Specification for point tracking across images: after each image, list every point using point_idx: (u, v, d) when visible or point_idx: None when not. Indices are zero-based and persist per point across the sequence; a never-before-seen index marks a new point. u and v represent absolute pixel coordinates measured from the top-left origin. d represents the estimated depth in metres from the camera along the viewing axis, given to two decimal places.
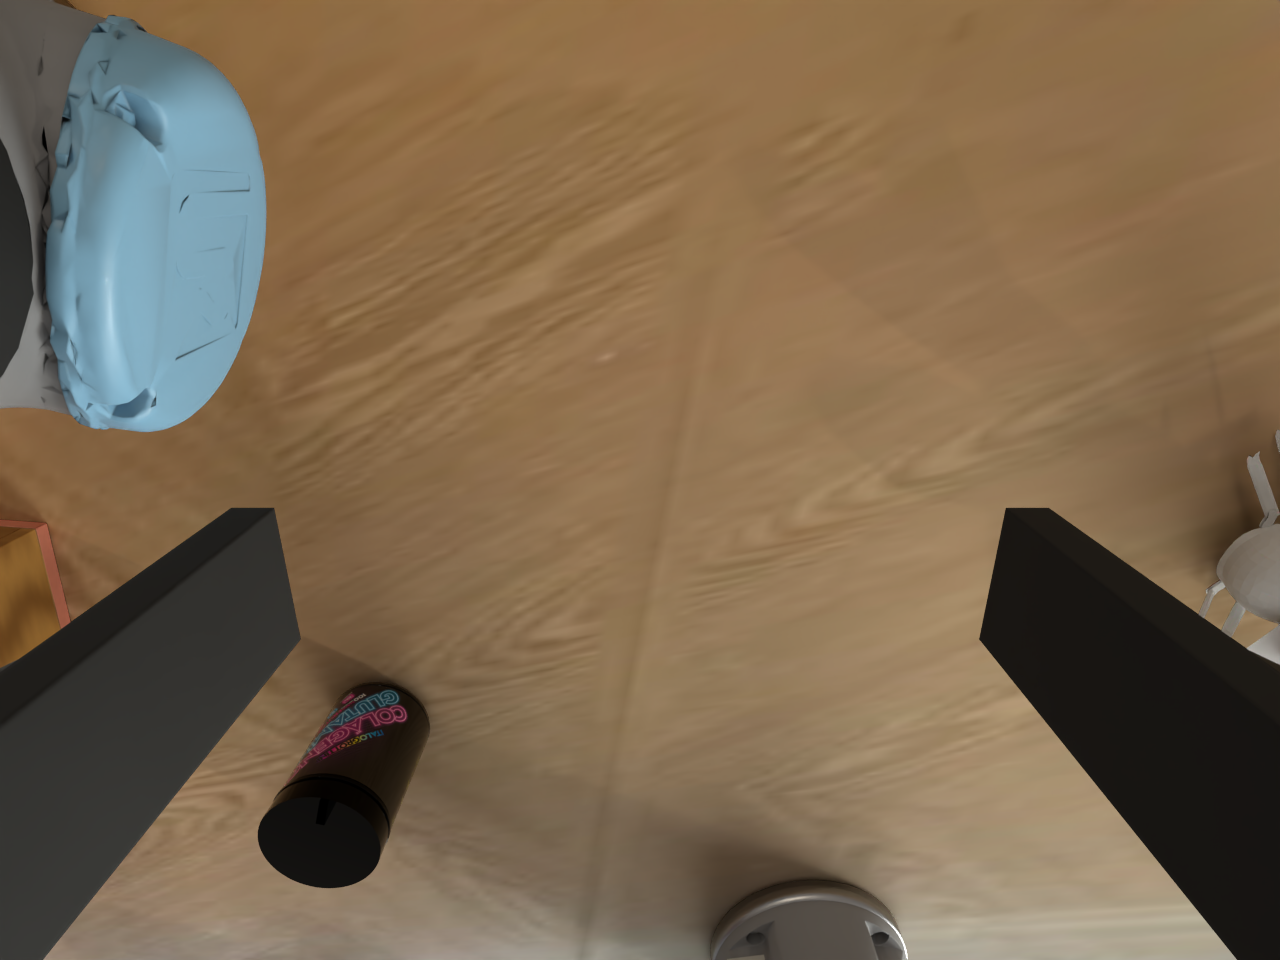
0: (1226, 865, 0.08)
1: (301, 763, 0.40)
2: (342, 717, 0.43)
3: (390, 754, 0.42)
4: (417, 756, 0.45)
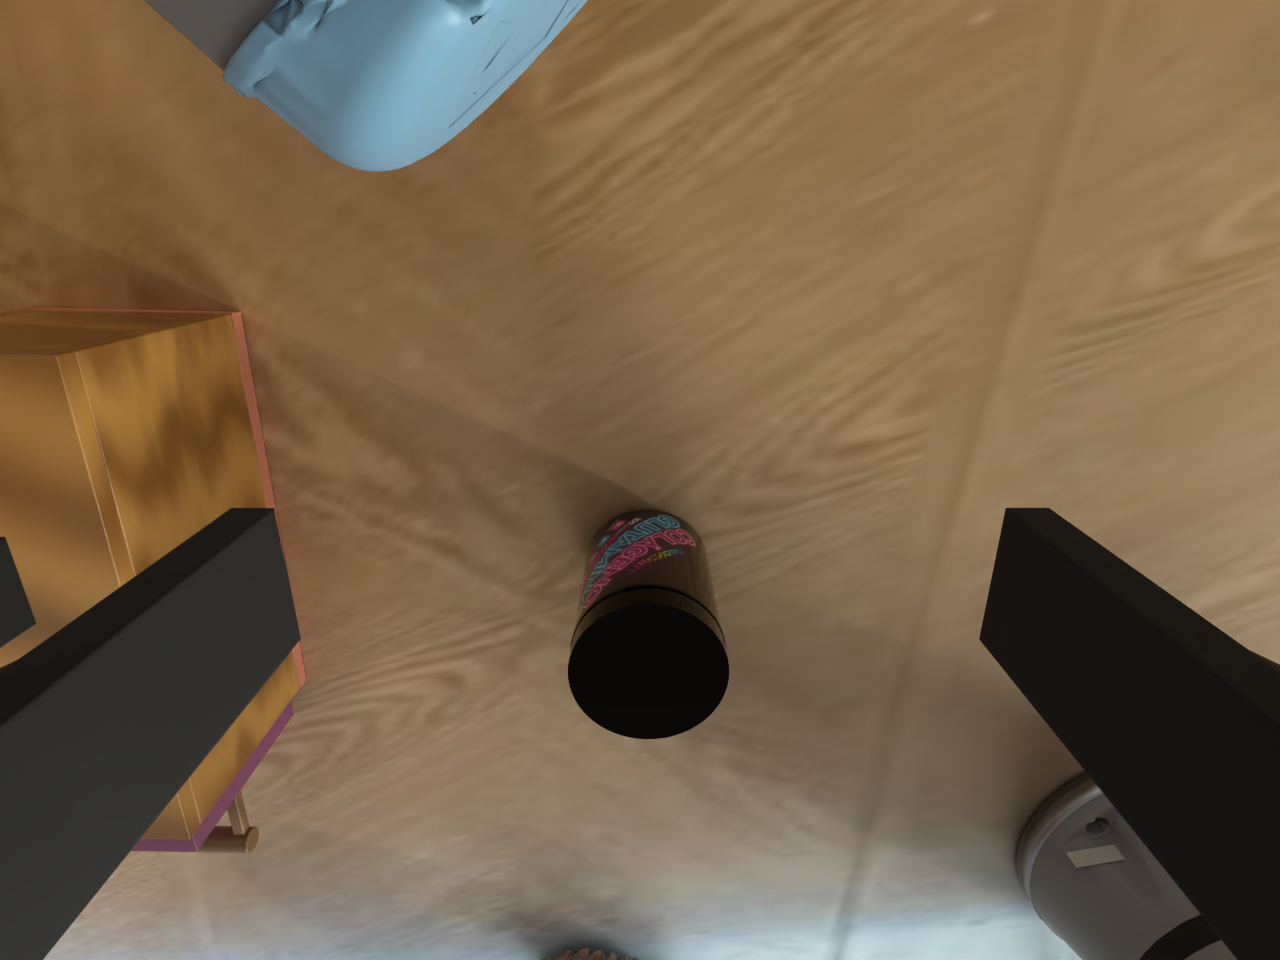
0: (1226, 864, 0.08)
1: (599, 583, 0.31)
2: (624, 539, 0.34)
3: (701, 574, 0.32)
4: None
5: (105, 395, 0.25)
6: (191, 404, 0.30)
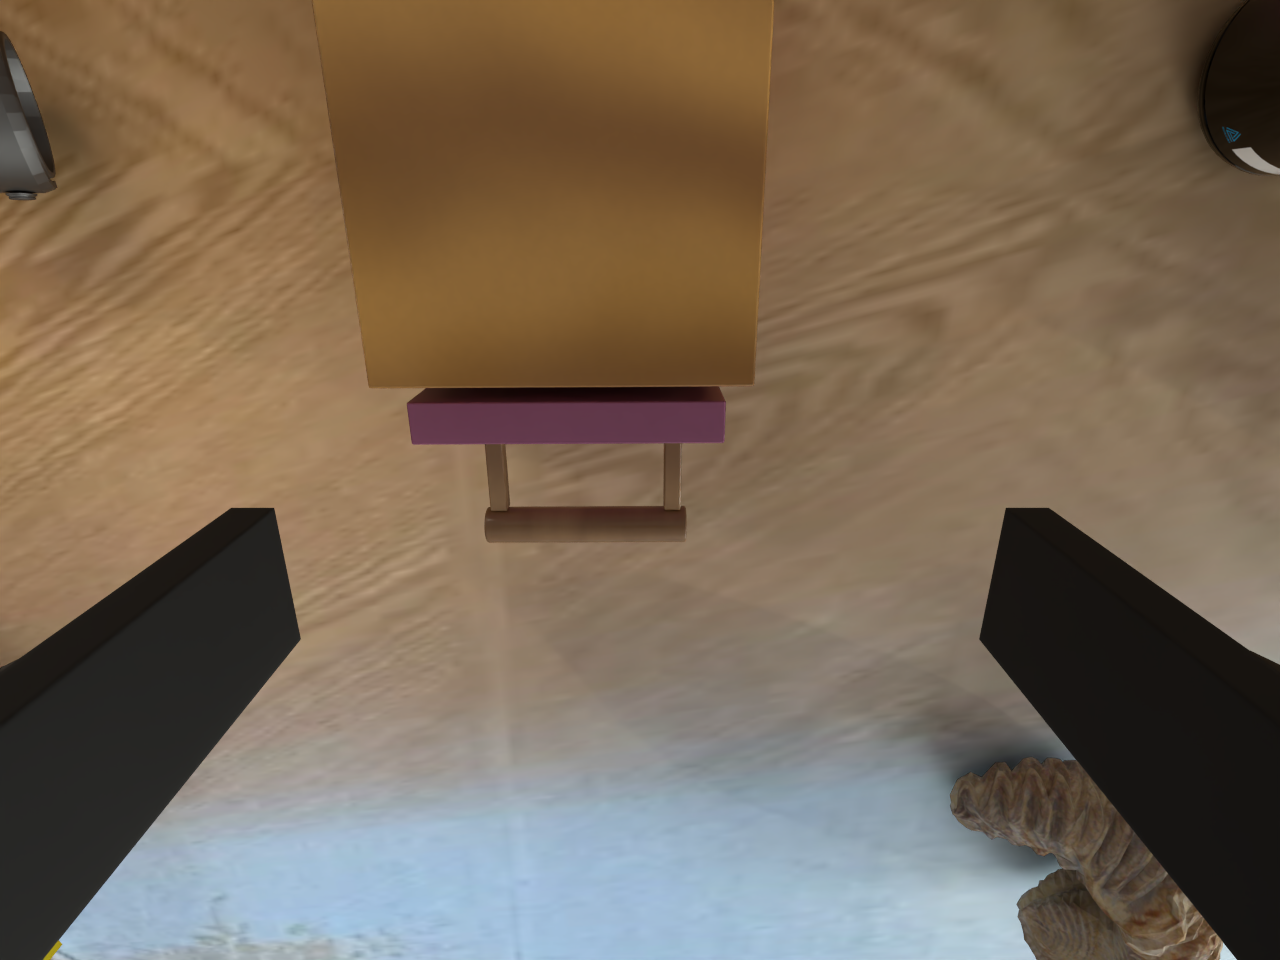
0: (1225, 864, 0.08)
1: None
2: None
3: None
4: None
5: None
6: None
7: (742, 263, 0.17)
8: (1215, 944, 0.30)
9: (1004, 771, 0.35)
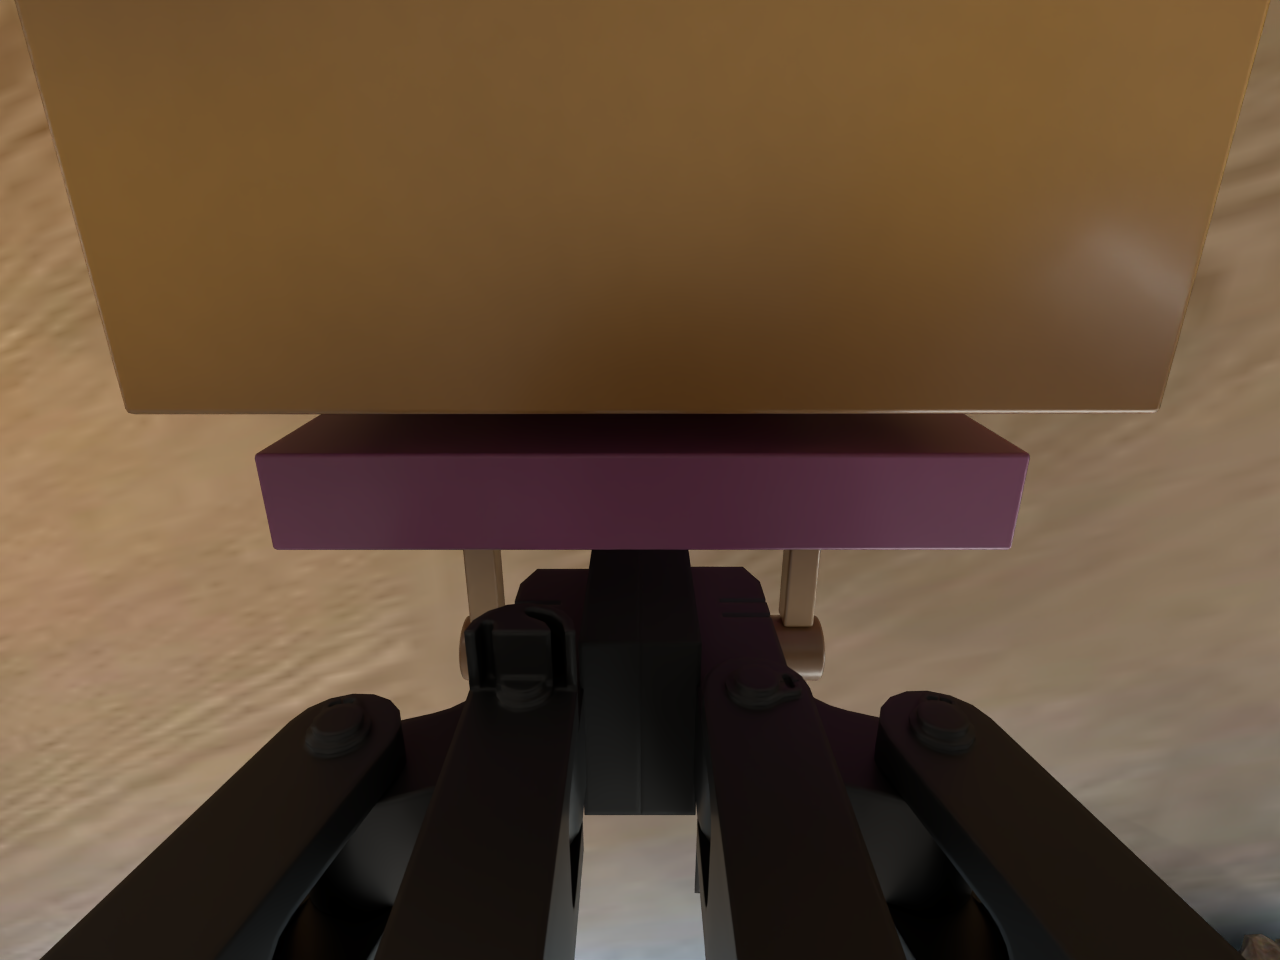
0: None
1: None
2: None
3: None
4: None
5: None
6: None
7: (1205, 49, 0.06)
8: None
9: None
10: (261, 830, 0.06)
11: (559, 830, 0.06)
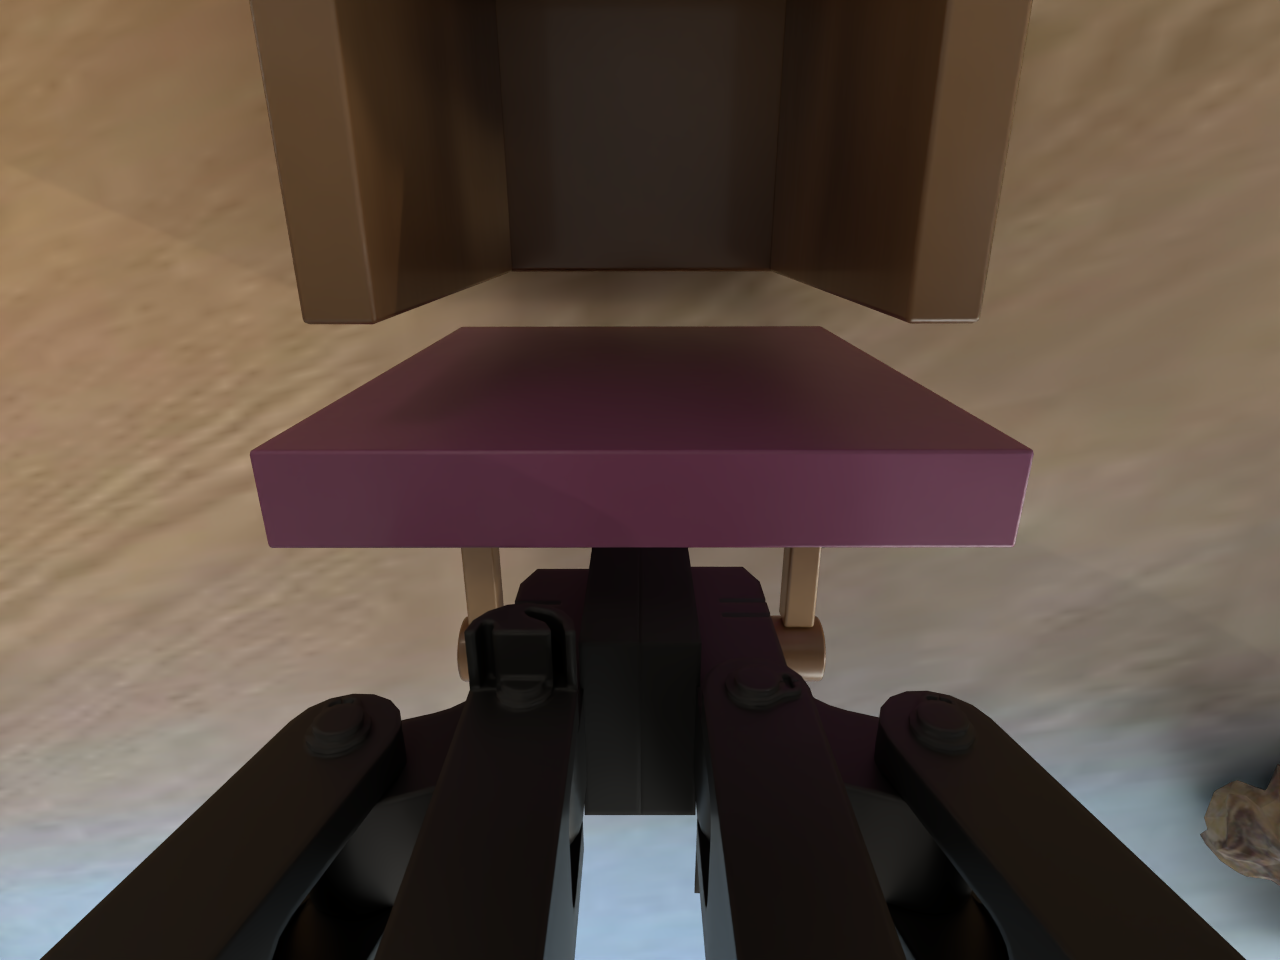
0: None
1: None
2: None
3: None
4: None
5: None
6: None
7: None
8: None
9: None
10: (261, 830, 0.06)
11: (560, 829, 0.06)
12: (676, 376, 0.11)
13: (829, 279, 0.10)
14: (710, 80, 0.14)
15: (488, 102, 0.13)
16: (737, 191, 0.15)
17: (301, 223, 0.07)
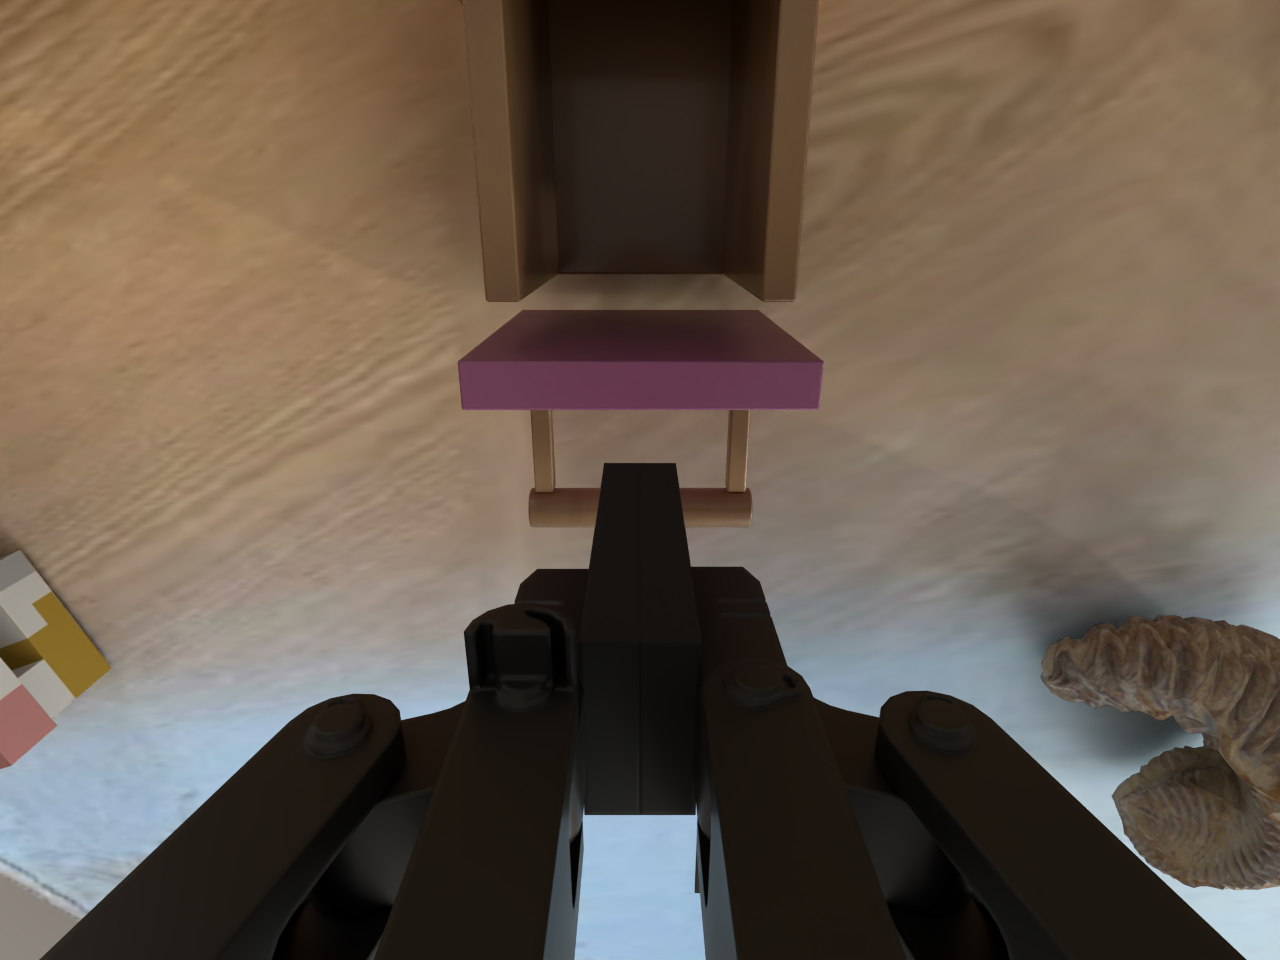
0: None
1: None
2: None
3: None
4: None
5: None
6: None
7: None
8: None
9: (1108, 630, 0.30)
10: (261, 830, 0.06)
11: (559, 830, 0.06)
12: (660, 334, 0.20)
13: (742, 280, 0.19)
14: (683, 157, 0.23)
15: (549, 174, 0.21)
16: (700, 224, 0.23)
17: (489, 256, 0.16)
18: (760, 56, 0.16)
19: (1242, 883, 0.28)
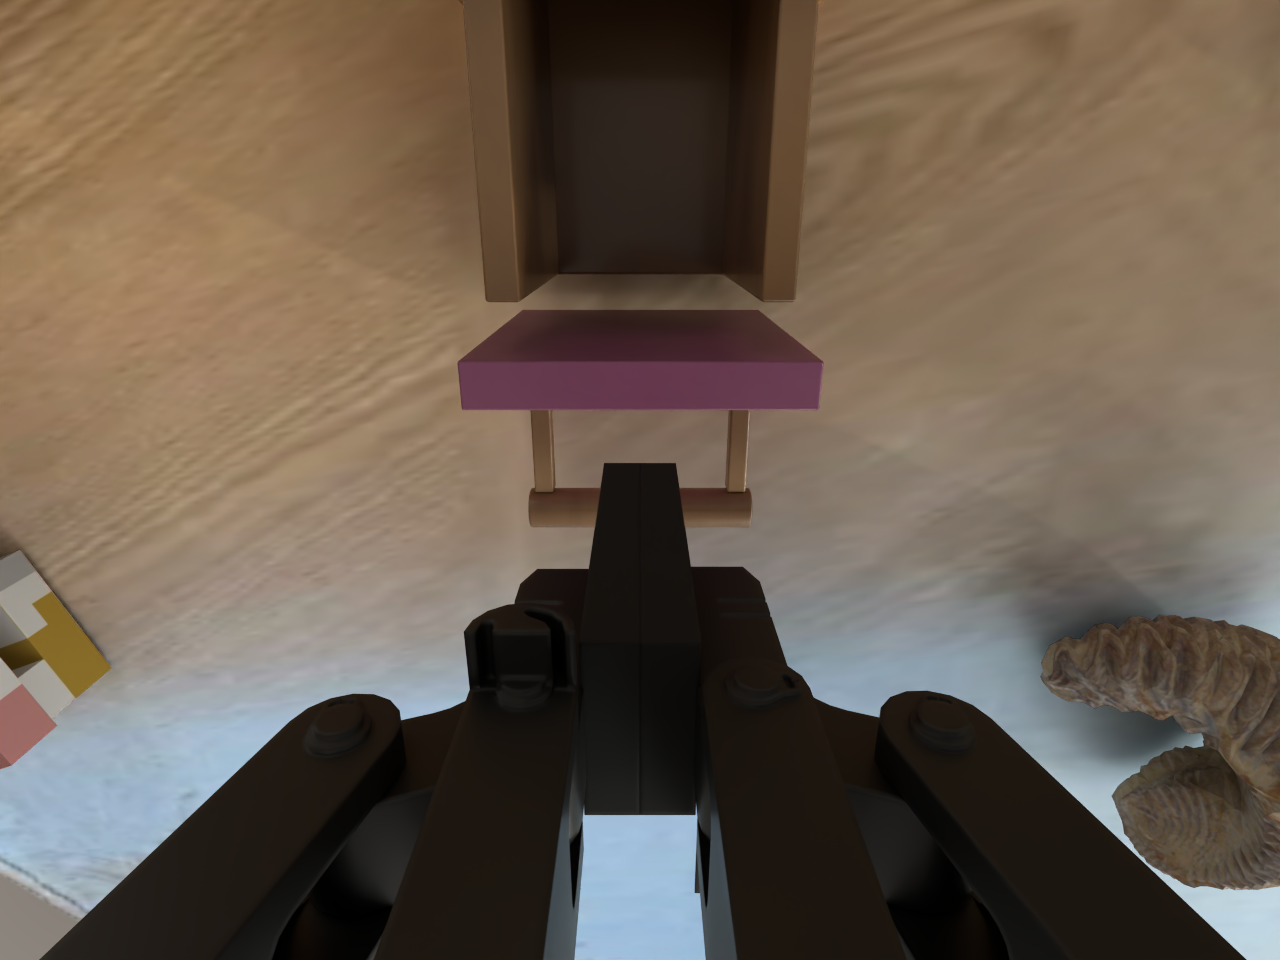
0: None
1: None
2: None
3: None
4: None
5: None
6: None
7: None
8: None
9: (1108, 630, 0.30)
10: (261, 830, 0.06)
11: (559, 830, 0.06)
12: (660, 334, 0.20)
13: (742, 281, 0.19)
14: (683, 157, 0.23)
15: (549, 174, 0.21)
16: (700, 224, 0.23)
17: (489, 256, 0.16)
18: (760, 56, 0.16)
19: (1242, 883, 0.28)
